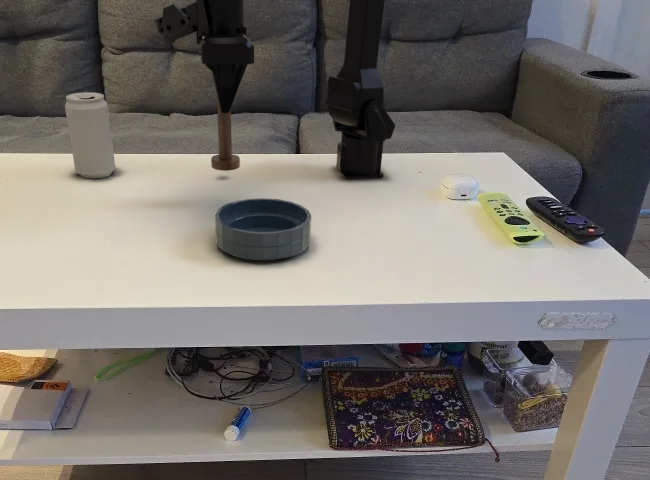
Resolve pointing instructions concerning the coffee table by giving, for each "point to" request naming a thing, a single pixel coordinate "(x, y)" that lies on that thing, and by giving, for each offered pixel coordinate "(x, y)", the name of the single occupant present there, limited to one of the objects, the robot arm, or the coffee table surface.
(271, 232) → the bowl
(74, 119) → the beverage can
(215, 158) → the rod
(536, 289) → the coffee table surface
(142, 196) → the coffee table surface
